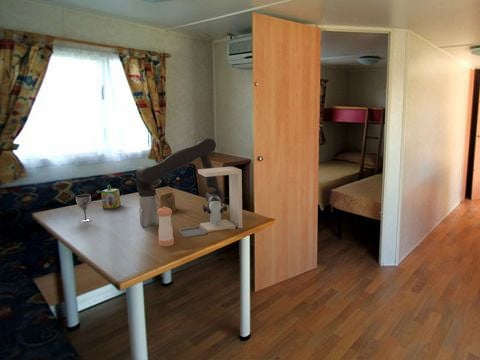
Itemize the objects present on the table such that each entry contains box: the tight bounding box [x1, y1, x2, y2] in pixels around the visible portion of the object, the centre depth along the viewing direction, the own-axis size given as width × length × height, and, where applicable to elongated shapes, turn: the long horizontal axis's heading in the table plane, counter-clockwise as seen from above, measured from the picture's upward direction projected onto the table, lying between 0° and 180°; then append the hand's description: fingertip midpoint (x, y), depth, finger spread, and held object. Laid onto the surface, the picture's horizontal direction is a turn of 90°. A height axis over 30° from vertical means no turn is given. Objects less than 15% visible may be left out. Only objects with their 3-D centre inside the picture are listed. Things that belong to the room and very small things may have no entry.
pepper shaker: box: [157, 206, 175, 247], centre depth 167 cm, size 7×7×19 cm
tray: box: [177, 225, 209, 239], centre depth 183 cm, size 12×12×2 cm
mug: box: [156, 191, 178, 212], centre depth 226 cm, size 12×18×12 cm, turn 132°
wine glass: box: [75, 193, 92, 221], centre depth 207 cm, size 8×8×15 cm
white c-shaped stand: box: [197, 166, 243, 233], centre depth 190 cm, size 20×12×32 cm, turn 115°
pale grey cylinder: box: [209, 201, 222, 224], centre depth 190 cm, size 6×6×11 cm
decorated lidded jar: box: [100, 184, 122, 209], centre depth 236 cm, size 9×9×15 cm
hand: (215, 211), depth 188 cm, fingers closed on pale grey cylinder, 6 cm apart
